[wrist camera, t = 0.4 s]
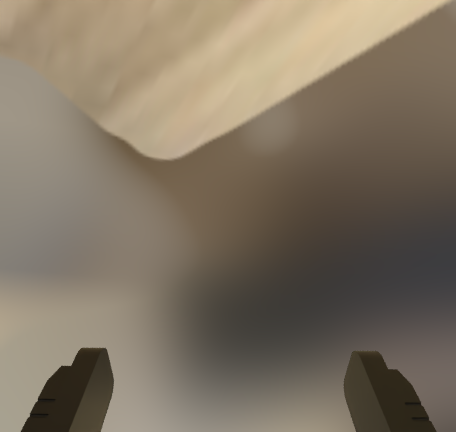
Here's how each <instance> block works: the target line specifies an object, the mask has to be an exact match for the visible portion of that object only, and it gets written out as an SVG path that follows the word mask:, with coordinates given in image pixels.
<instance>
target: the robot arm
mask: <svg viewBox="0 0 456 432" xmlns="http://www.w3.org/2000/svg"><path fill="white" fill-rule="evenodd" d="M113 384H114V379H113V373H112V369H111V365H110V360H109V356H108V352H107V349H106V348H81V349H80V350H79V351H78V353H77V355H76V357H75V359H74V361H73V363H72V365H71V366H61V367H60V368H59V369H58V370H57V371H56V372H55V373H54V374H53V375H52V376H51V377H50V378H49V380H48V381H47V382H46V384H45V386H44V388H43V390H42V392H41V394H40V396H39V397H38V401H37V402H36V403H35V405H34V407H33V409H32V411H31V413H30V417H29V418H28V419H27V421H26V422H25V424H24V426H23V429H22V430H21V432H101V429H102V425H103V422H104V419H105V416H106V413H107V410H108V406H109V403H110V400H111V397H112V393H113ZM344 393H345V398H346V402H347V405H348V408H349V411H350V414H351V417H352V420H353V423H354V426H355V429H356V432H436V430H435V428H434V426H433V424H432V422H431V421H429V417H428V415H427V413H426V411H425V409H424V407H423V406H422V405H421V402H420V400H419V398H418V396H417V394H416V392H415V390H414V388H413V386H412V385H411V384H410V383H409V382H408V381H407V379H406V378H405V377H404V376H403V375H402V374H401V373H400V372H399V371H398V370H393V369H388V368H387V366H386V364H385V362H384V360H383V358H382V356H381V354H380V353H379V352H377V351H353V352H352V355H351V358H350V362H349V365H348V368H347V372H346V375H345V379H344Z"/></svg>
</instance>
